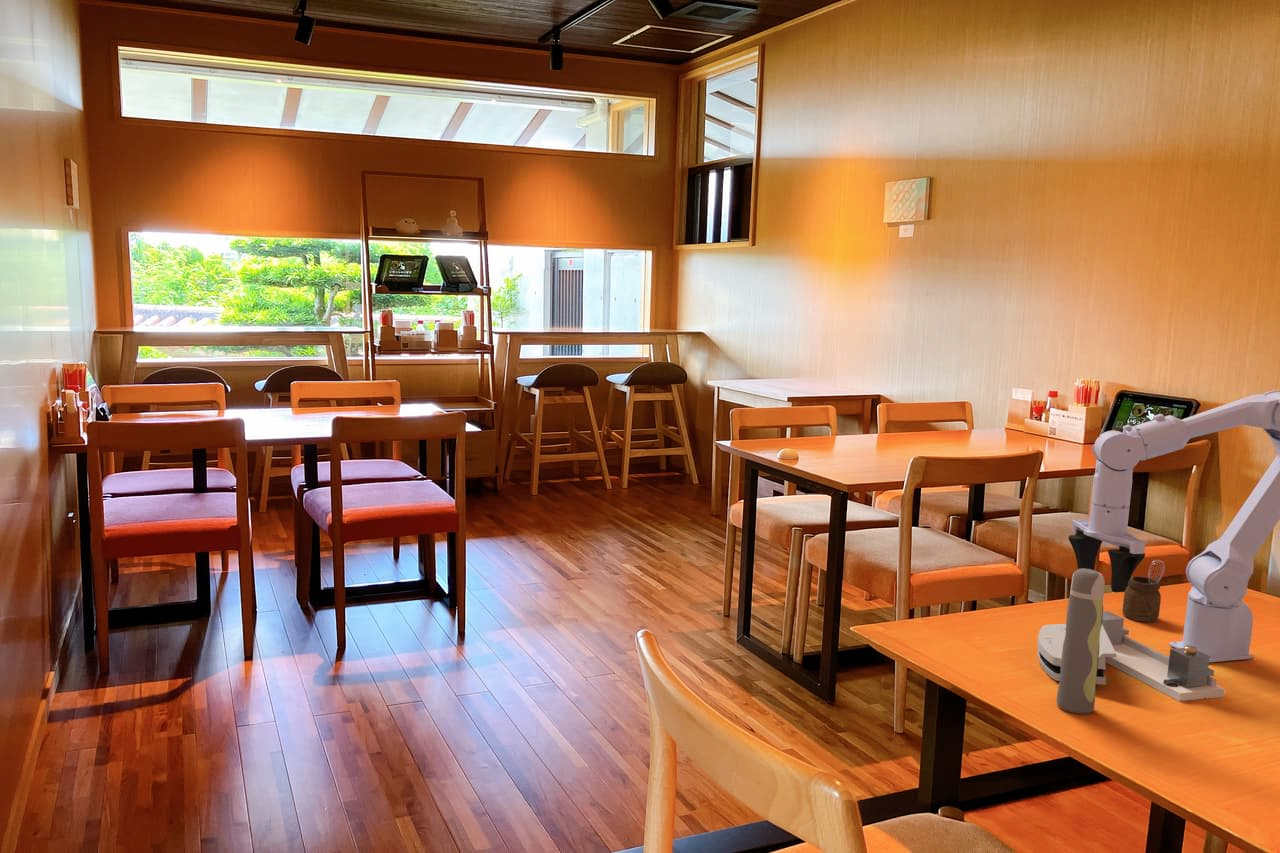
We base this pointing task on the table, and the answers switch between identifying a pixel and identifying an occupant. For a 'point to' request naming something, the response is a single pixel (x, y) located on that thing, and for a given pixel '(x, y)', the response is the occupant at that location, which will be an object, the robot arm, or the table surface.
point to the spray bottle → (1081, 642)
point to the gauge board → (1150, 664)
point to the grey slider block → (1188, 667)
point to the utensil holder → (1142, 598)
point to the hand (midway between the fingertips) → (1101, 584)
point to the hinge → (1053, 645)
